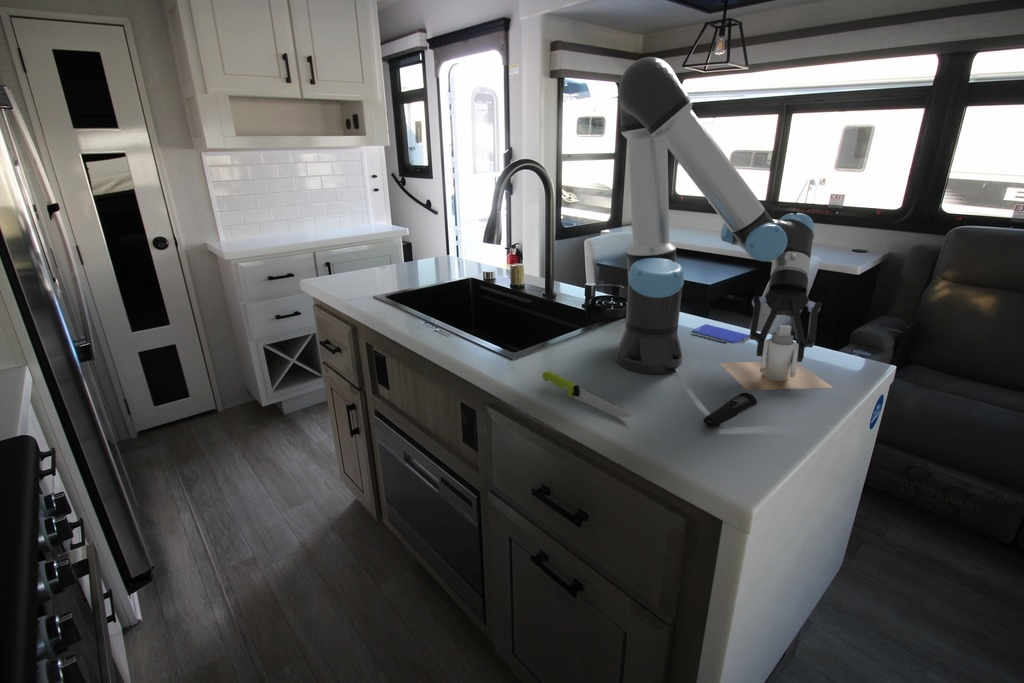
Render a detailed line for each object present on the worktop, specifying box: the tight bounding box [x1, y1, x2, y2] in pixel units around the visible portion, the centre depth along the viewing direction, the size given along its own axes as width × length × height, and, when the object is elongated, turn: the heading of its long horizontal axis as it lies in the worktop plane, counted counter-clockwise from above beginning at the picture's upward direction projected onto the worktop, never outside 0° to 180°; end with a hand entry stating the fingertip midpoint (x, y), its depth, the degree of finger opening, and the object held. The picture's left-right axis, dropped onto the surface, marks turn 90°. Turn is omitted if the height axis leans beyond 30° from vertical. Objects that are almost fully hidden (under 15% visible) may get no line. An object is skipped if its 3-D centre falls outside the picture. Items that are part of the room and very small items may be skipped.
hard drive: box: [690, 323, 750, 345], centre depth 136 cm, size 2×8×12 cm
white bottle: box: [762, 324, 796, 382], centre depth 107 cm, size 5×5×12 cm
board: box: [718, 361, 834, 391], centre depth 111 cm, size 18×14×1 cm
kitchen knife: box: [542, 370, 633, 418], centre depth 101 cm, size 22×1×3 cm, turn 43°
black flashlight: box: [702, 392, 758, 428], centre depth 95 cm, size 4×16×3 cm, turn 129°
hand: (777, 372), depth 105 cm, fingers closed on white bottle, 5 cm apart
